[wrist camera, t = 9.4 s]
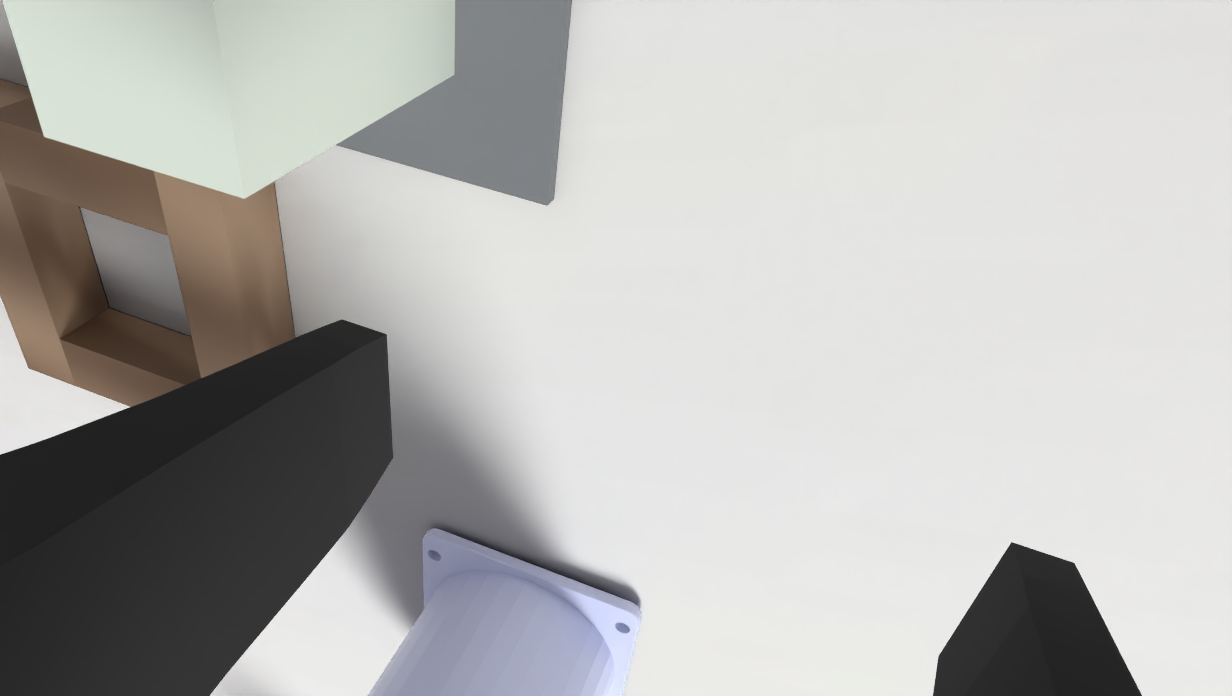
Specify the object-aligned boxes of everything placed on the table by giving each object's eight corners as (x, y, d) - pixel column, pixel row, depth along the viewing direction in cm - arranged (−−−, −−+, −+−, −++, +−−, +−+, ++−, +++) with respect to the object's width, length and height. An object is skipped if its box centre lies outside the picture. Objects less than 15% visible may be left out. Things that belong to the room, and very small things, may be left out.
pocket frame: (306, 420, 28) (267, 458, 27) (77, 337, 30) (28, 368, 28) (270, 159, 22) (218, 188, 21) (-10, 76, 24) (-78, 97, 23)
